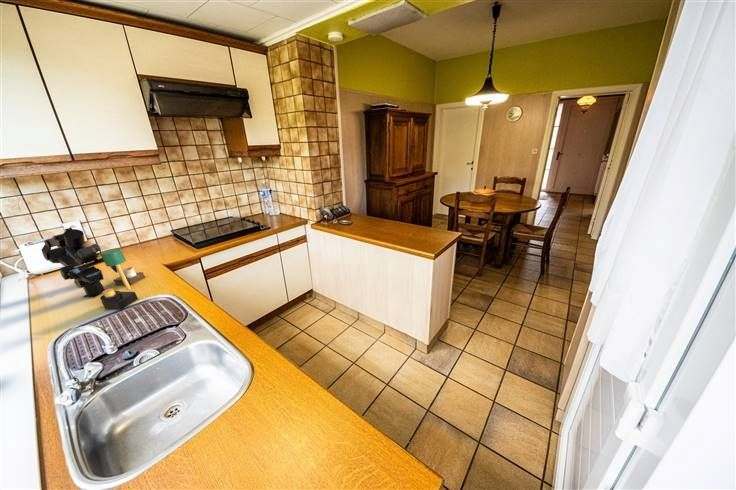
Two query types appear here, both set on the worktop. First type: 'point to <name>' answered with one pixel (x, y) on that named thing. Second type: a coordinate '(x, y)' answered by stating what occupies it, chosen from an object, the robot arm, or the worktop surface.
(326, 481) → the worktop surface
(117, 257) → the lamp
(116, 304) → the lamp base
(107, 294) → the lamp button
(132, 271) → the dimmer
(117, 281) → the dimmer panel
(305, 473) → the worktop surface
